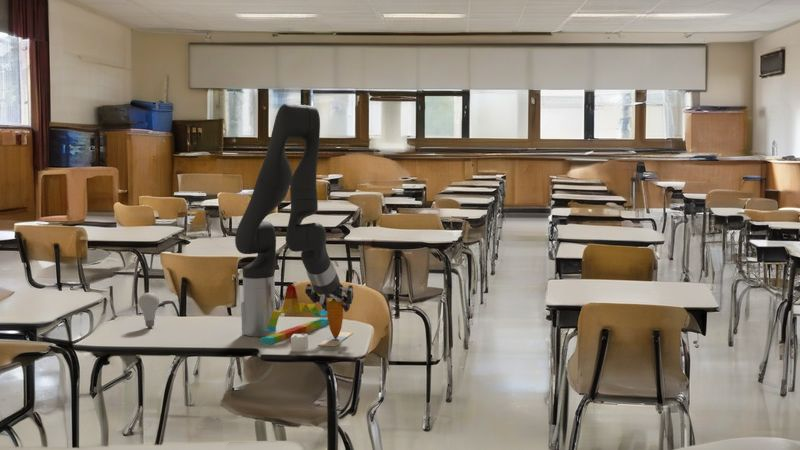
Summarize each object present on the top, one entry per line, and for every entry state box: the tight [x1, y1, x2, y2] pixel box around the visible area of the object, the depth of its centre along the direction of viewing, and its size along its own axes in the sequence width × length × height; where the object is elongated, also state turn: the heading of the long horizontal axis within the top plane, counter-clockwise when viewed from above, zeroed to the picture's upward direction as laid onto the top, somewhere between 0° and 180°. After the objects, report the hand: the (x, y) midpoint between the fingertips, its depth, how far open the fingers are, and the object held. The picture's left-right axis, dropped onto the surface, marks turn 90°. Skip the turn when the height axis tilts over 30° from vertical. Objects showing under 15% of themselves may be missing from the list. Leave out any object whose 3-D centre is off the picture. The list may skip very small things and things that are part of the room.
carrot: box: [326, 298, 344, 339], centre depth 267 cm, size 5×5×15 cm
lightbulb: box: [138, 292, 160, 329], centre depth 287 cm, size 6×6×11 cm
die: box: [290, 333, 309, 352], centre depth 257 cm, size 4×4×4 cm
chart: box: [260, 284, 329, 346], centre depth 276 cm, size 30×3×15 cm, turn 150°
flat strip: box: [317, 331, 354, 347], centre depth 268 cm, size 5×16×1 cm, turn 165°
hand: (337, 308), depth 269 cm, fingers open, 5 cm apart
